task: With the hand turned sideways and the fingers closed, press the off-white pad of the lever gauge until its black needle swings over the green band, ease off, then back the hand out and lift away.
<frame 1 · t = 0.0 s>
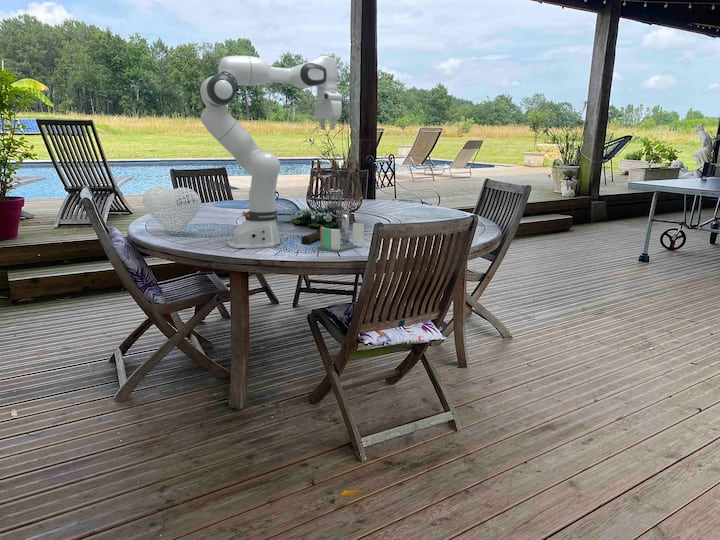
hand: (327, 129, 222), 48 cm above the table, tool pointing down, fingers open, 8 cm apart
hand tool: (314, 241, 227), on the table
heart: (174, 235, 236), on the table
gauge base: (345, 246, 216), on the table
gauge lever: (349, 231, 208), point 8 cm above the table, hinge at 0.0°
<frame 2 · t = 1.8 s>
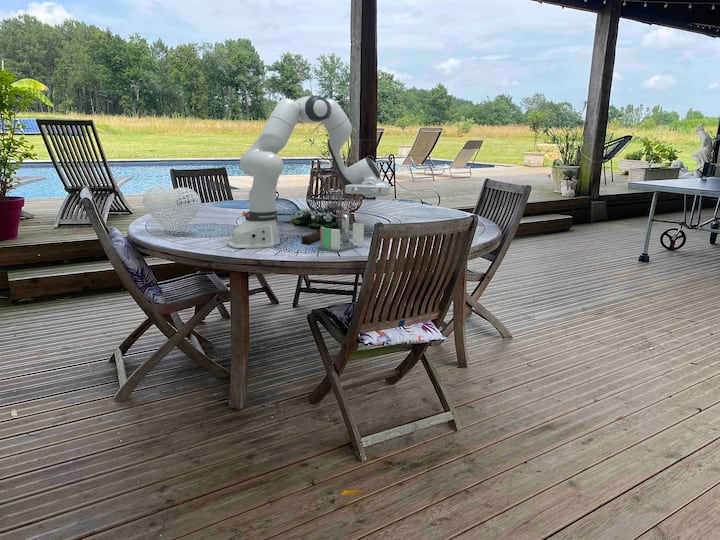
hand: (364, 191, 221), 22 cm above the table, tool horizontal, fingers open, 6 cm apart
nothing on the table moved.
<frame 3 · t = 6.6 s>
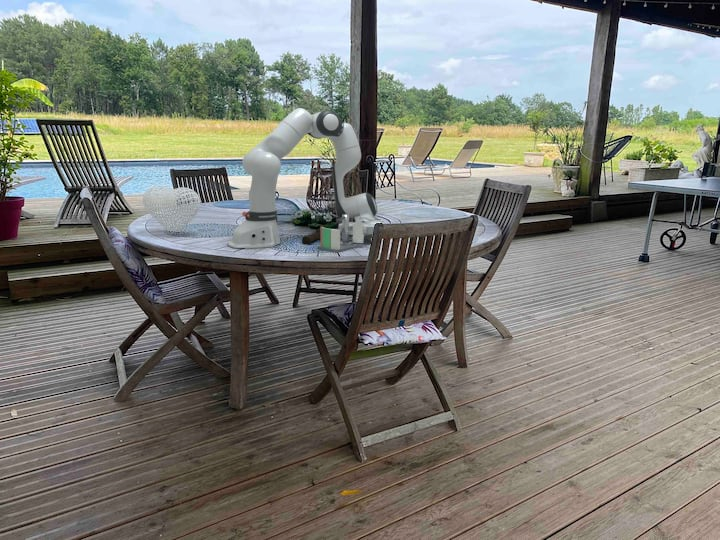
hand: (358, 231, 214), 6 cm above the table, tool horizontal, fingers closed, pressing on gauge lever
gauge lever: (349, 231, 208), point 8 cm above the table, hinge at -1.2°, touching gripper
everything else where it was.
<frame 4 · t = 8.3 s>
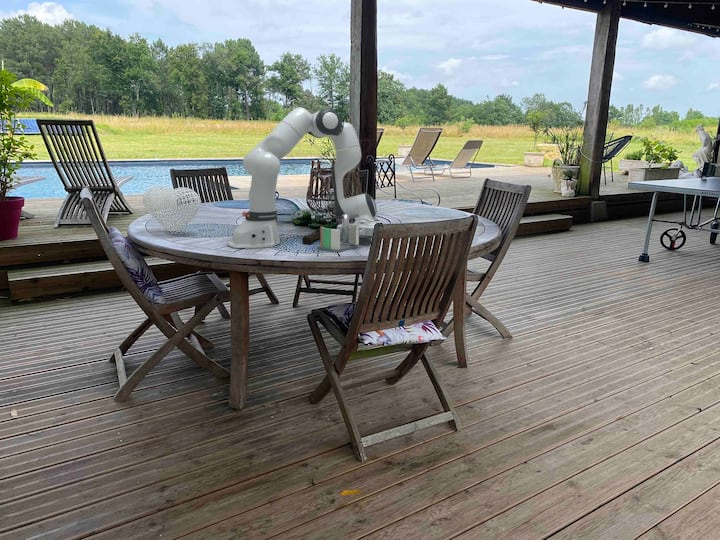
hand: (357, 233, 211), 6 cm above the table, tool horizontal, fingers closed
gauge lever: (339, 231, 208), point 8 cm above the table, hinge at -37.6°, touching gripper
everything else where it was.
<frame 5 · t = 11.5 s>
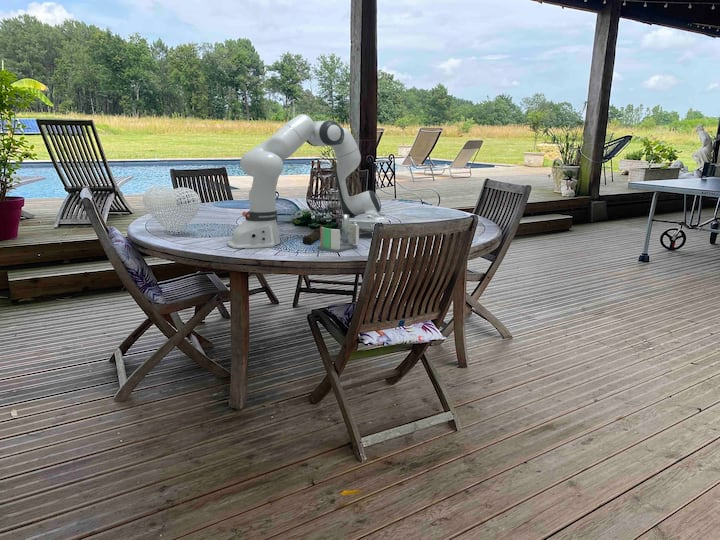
hand: (364, 226, 225), 6 cm above the table, tool horizontal, fingers open, 6 cm apart
gauge lever: (339, 231, 208), point 8 cm above the table, hinge at -37.7°
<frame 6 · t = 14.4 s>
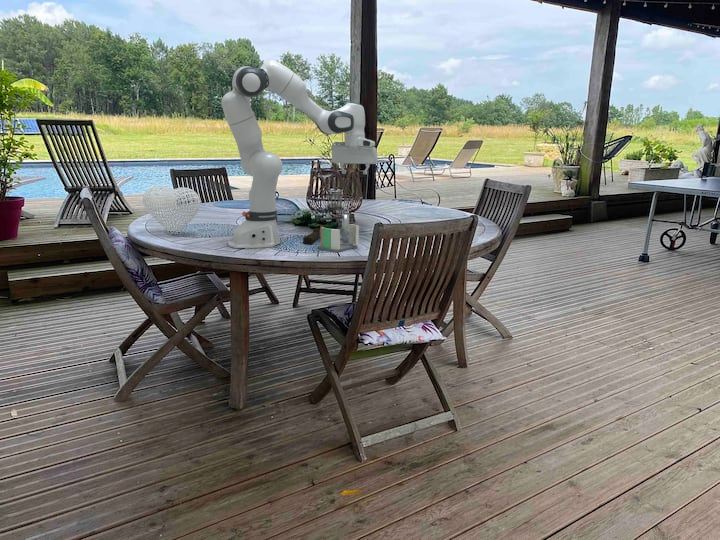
hand: (354, 174, 224), 29 cm above the table, tool pointing down, fingers open, 8 cm apart
at the end: gauge lever at -38° (first picture: +0°); the gripper is holding nothing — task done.
